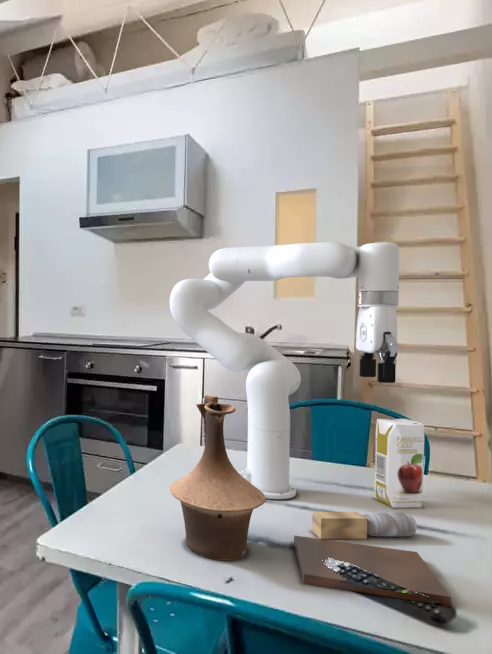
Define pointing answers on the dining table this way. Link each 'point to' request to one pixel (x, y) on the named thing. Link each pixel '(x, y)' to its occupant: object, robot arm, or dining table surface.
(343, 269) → the robot arm
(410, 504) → the juice carton
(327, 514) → the wood and marble capsule
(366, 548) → the chopping board
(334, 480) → the dining table surface
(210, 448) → the pitcher
